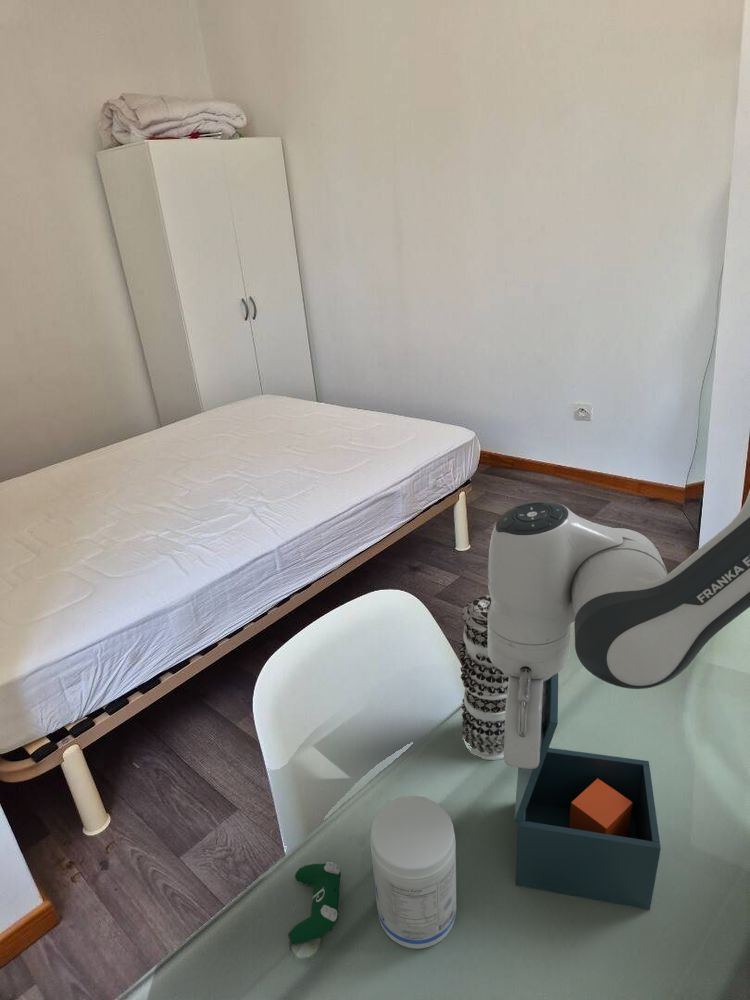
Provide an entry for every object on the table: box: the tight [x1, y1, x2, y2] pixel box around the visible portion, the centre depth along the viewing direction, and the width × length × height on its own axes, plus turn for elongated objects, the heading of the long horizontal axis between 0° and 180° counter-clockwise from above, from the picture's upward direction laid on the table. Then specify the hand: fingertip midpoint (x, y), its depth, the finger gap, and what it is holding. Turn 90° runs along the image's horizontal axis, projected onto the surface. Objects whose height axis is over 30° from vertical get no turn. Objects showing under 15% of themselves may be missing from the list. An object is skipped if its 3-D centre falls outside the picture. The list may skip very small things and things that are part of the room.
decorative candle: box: [458, 594, 509, 761], centre depth 100 cm, size 9×9×25 cm
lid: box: [513, 672, 559, 824], centre depth 81 cm, size 16×13×1 cm
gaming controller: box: [287, 861, 342, 945], centre depth 83 cm, size 9×4×6 cm
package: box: [569, 778, 633, 837], centre depth 86 cm, size 5×6×8 cm
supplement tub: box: [369, 795, 457, 950], centre depth 79 cm, size 10×10×15 cm
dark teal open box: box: [514, 747, 662, 911], centre depth 86 cm, size 16×13×11 cm
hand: (524, 734), depth 82 cm, fingers closed, pressing on lid
